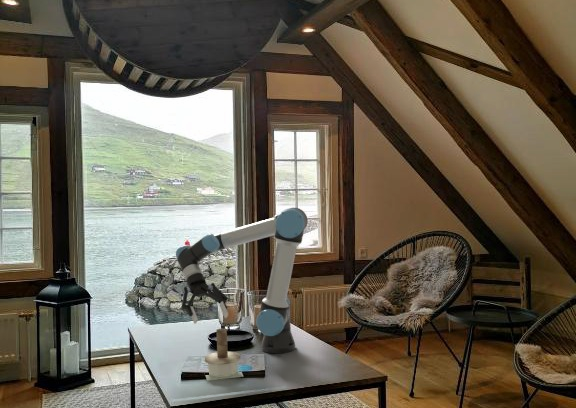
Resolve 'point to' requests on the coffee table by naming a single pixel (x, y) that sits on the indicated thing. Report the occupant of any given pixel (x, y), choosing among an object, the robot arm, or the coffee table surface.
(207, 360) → the lid
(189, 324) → the coffee table surface
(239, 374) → the mat
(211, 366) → the bowl
